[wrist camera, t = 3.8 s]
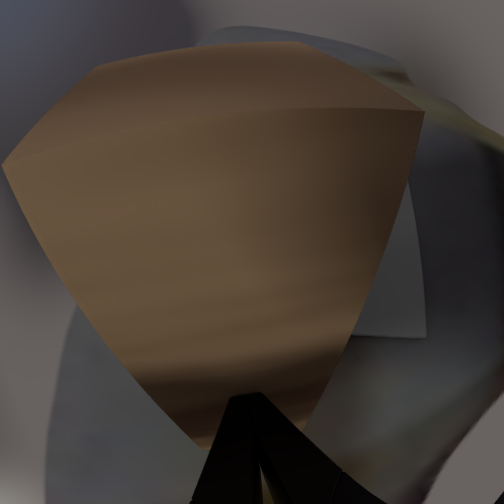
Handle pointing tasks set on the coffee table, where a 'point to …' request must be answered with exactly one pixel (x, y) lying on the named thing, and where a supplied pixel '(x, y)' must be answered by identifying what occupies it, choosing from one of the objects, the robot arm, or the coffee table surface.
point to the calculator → (500, 499)
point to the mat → (397, 284)
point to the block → (220, 216)
